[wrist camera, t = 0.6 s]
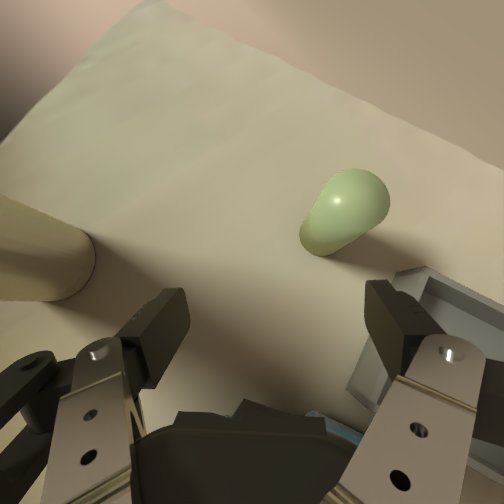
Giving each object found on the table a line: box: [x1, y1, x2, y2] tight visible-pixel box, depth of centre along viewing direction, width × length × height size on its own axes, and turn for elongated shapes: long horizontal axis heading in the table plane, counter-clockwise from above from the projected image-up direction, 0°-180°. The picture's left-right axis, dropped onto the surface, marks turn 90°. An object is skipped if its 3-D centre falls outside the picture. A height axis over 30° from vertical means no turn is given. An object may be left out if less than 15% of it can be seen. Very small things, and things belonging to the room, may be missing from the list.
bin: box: [346, 266, 504, 487], centre depth 26 cm, size 17×14×5 cm
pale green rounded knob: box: [300, 169, 390, 256], centre depth 26 cm, size 5×5×11 cm
